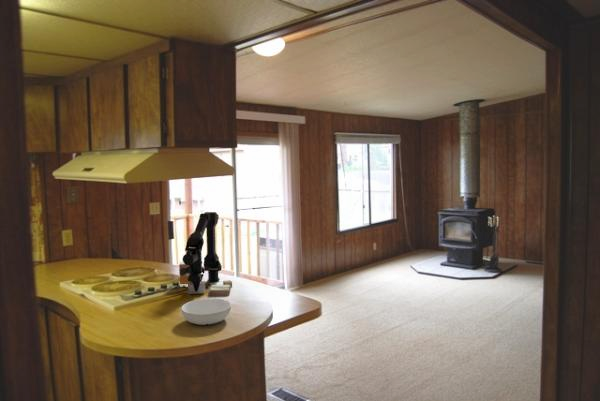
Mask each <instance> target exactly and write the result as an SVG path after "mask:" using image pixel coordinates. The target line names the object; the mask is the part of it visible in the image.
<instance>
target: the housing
mask: <svg viewBox="0 0 600 401" xmlns="http://www.w3.org/2000/svg"><path fill="white" fill-rule="evenodd" d="M205 292H206V281H201V282H200V285H199V288H198V291H197V292H195V290H194V286H193V283H192V282H189V284H188V287H187V293H188V295H194V294H199V295H200V294H205Z"/></svg>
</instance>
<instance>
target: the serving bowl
mask: <svg viewBox="0 0 600 401" xmlns="http://www.w3.org/2000/svg"><path fill="white" fill-rule="evenodd" d="M180 309H181V313H182V317H183V318H184V319H185V320H186V321H188V322H189V323H191V324H195V325H200V326H201V325H202V326H203V325H205V326H207V325H206V324H208V325H213V324H216V323H217V324H218V323H220V322H222V321H223V320H225V319H226V318H227V317H229V316H228V315H230V313H231V309H232V303H231V302H230V301H229V300H225V299H223V298H222V299H221V298H212V297H211V298H200V299H199V298H198V299H195V300H191V301H188V302H186V303H184V304H183V305H182V306H181V308H180Z"/></svg>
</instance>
